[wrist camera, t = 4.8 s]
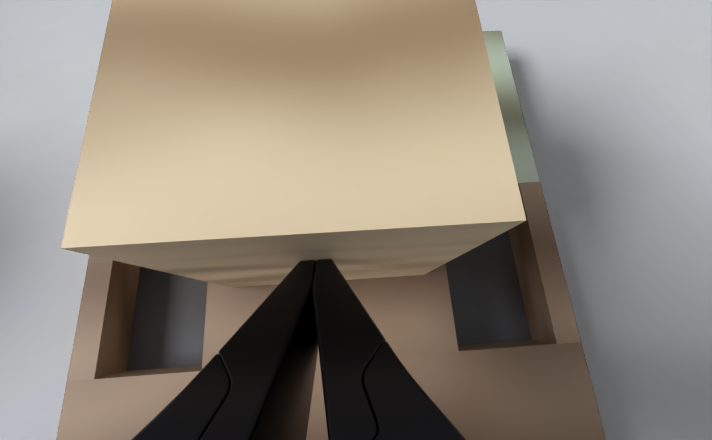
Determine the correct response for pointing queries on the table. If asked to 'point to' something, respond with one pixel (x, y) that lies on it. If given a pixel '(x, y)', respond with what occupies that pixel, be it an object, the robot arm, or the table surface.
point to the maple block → (292, 139)
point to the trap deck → (388, 311)
